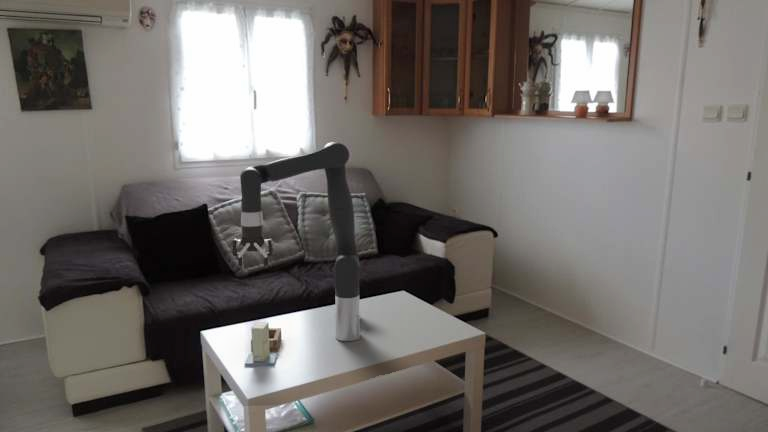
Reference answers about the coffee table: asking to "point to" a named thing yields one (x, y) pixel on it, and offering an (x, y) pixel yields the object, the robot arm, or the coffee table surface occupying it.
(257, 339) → the skincare box
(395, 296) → the coffee table surface
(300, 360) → the coffee table surface
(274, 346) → the pocket block
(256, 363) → the pad
